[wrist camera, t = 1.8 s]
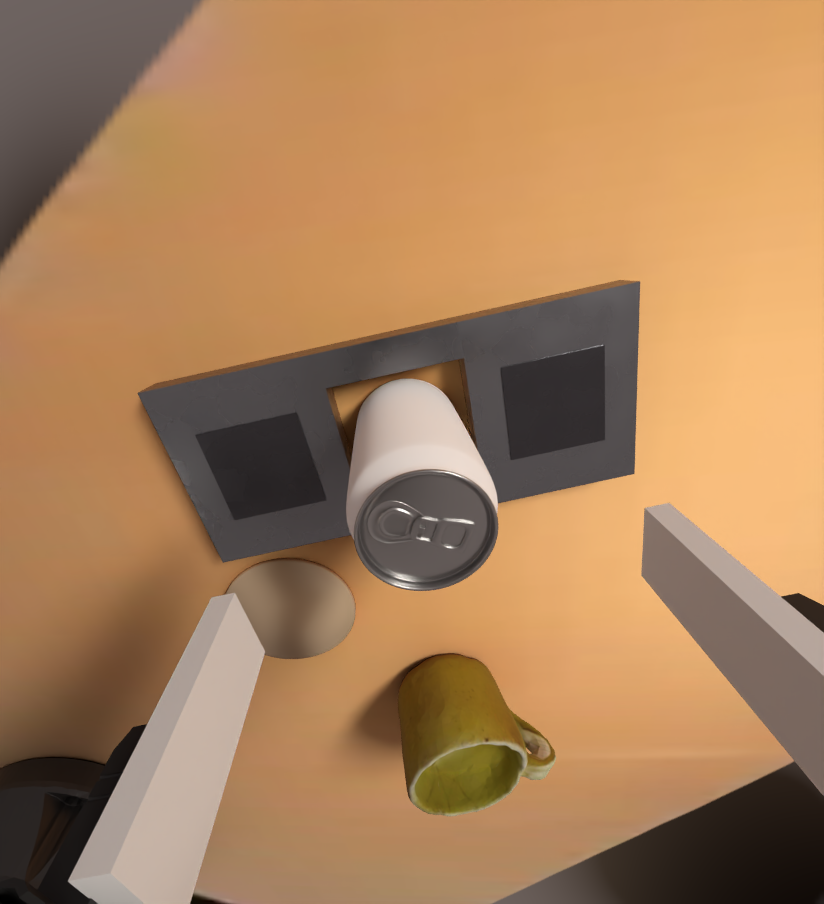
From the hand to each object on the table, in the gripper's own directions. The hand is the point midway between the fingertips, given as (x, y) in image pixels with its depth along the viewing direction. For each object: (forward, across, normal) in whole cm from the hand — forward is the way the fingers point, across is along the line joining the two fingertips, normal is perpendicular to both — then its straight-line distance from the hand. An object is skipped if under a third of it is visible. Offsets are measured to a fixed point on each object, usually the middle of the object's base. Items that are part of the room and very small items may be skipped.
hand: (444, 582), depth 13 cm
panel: (+15, 0, 0) cm, 15 cm away
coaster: (+15, -12, -13) cm, 23 cm away
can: (+15, 0, 0) cm, 15 cm away
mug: (+15, 0, -26) cm, 30 cm away
